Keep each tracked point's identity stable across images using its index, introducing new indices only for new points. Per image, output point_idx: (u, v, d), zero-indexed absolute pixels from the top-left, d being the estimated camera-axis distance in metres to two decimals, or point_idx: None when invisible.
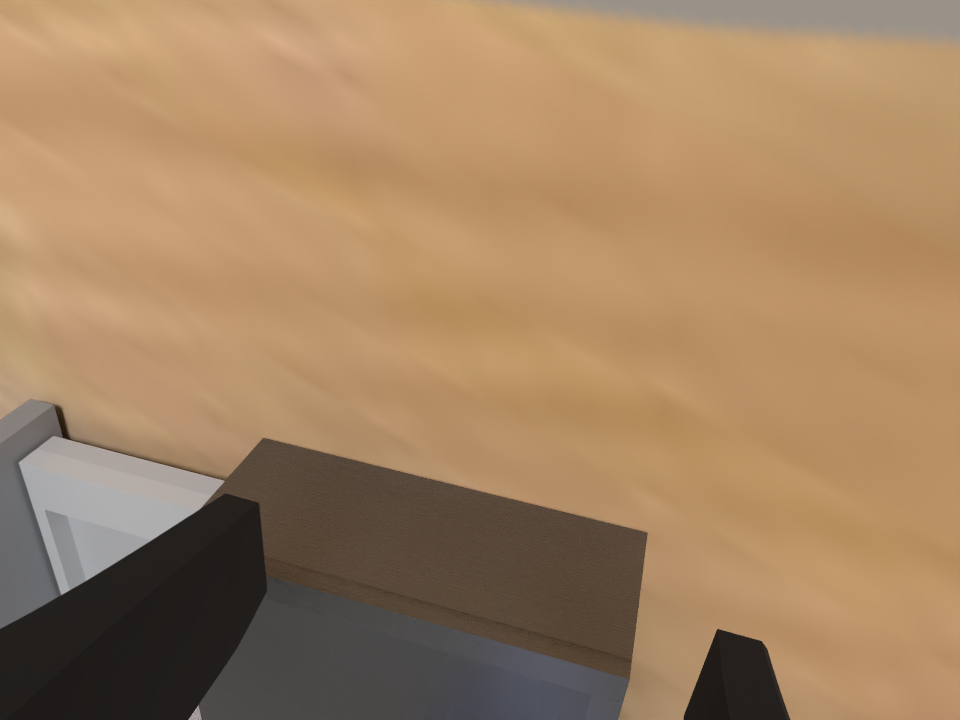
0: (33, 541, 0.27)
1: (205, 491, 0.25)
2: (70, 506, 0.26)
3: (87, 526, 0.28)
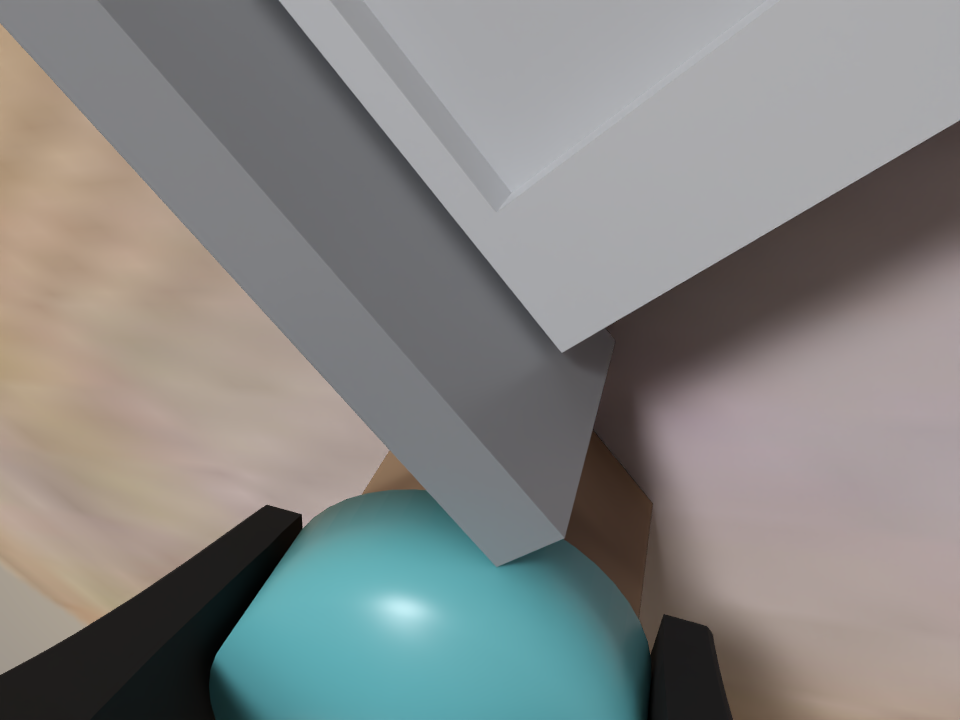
0: None
1: None
2: None
3: None
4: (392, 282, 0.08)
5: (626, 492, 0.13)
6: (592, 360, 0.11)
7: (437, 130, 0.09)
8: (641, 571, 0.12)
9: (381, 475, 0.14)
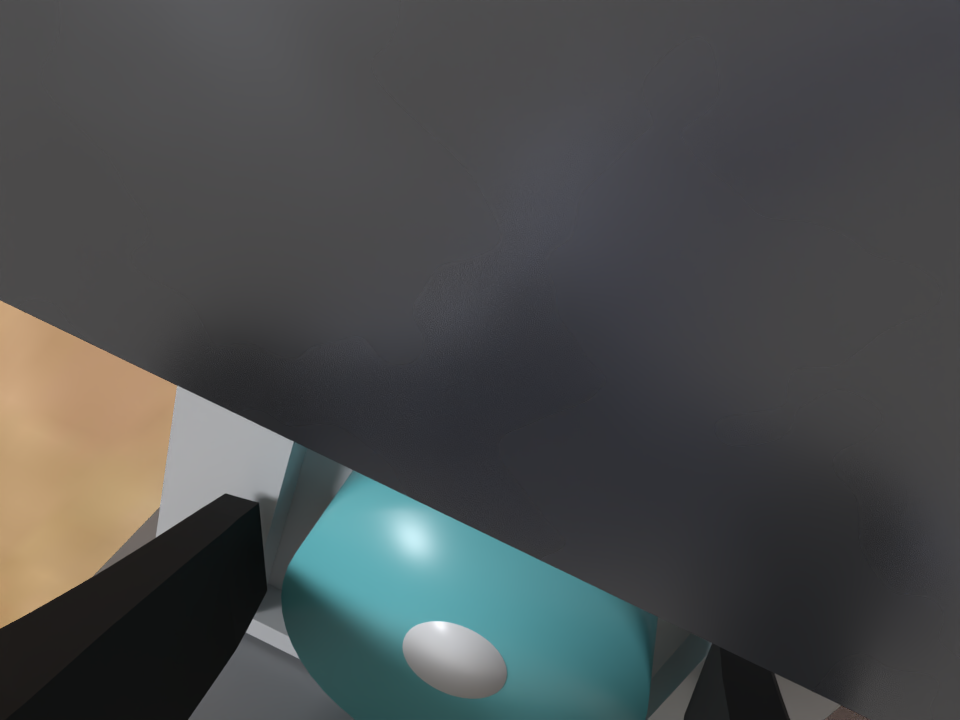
0: (305, 682, 0.14)
1: None
2: None
3: None
4: None
5: None
6: None
7: None
8: None
9: None
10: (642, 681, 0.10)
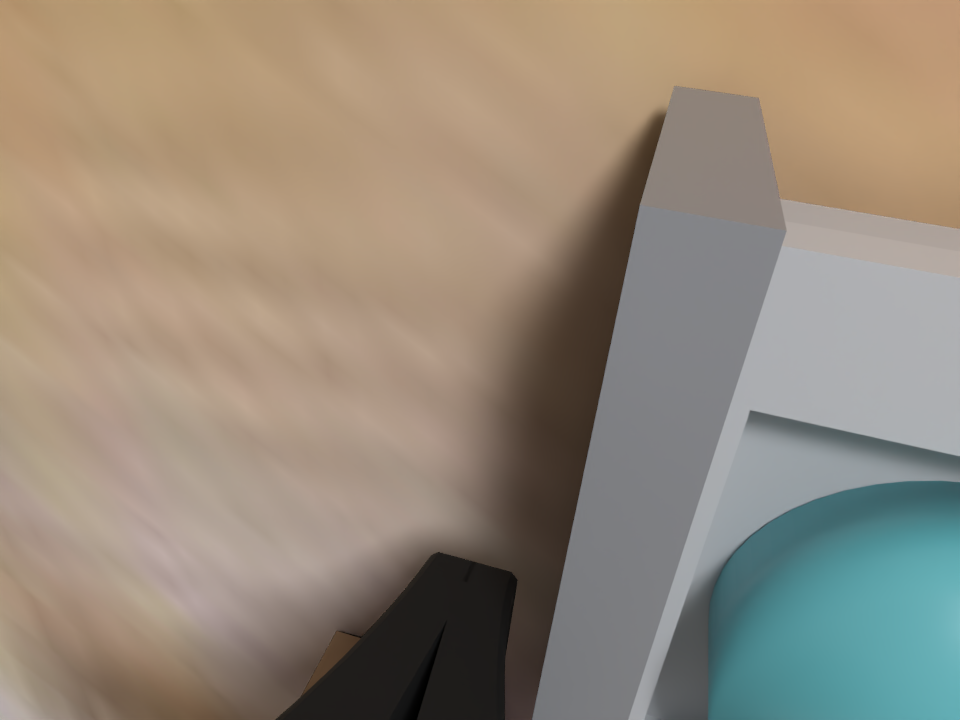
0: None
1: None
2: (879, 395, 0.08)
3: (785, 470, 0.10)
4: None
5: None
6: None
7: None
8: None
9: None
10: None
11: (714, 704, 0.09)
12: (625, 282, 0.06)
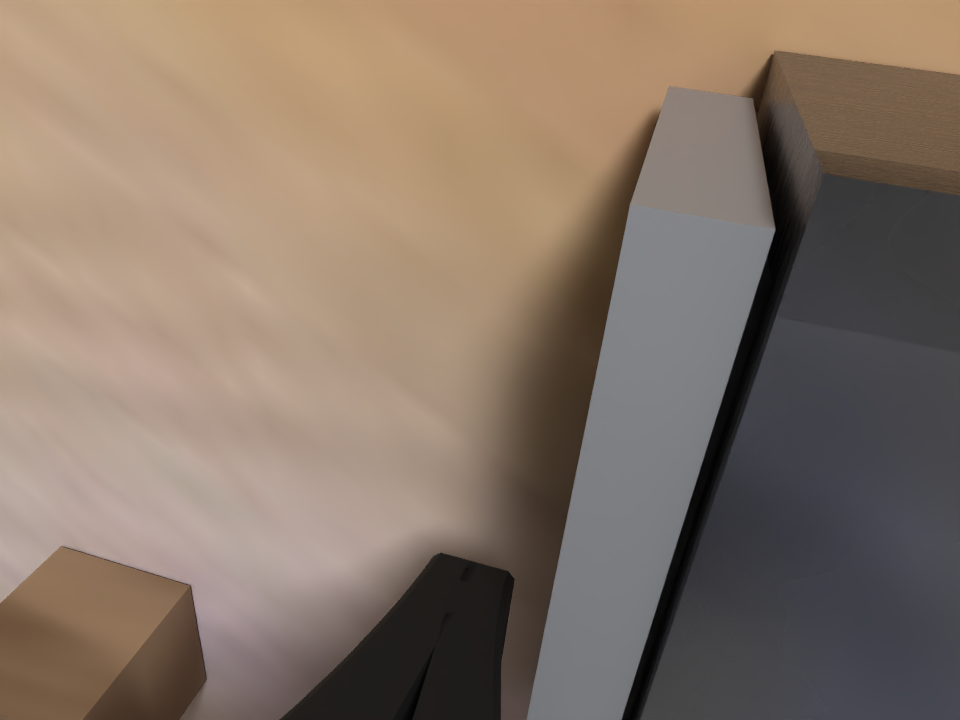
0: None
1: None
2: None
3: None
4: None
5: (192, 677, 0.19)
6: None
7: None
8: None
9: (32, 588, 0.17)
10: None
11: None
12: (616, 281, 0.06)
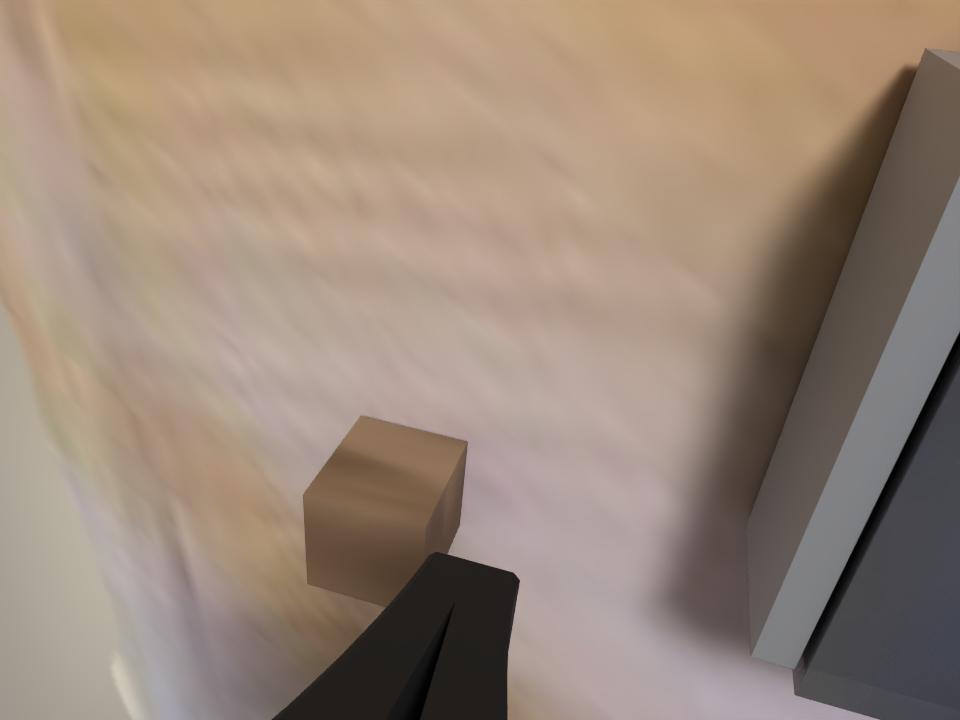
0: None
1: None
2: None
3: None
4: None
5: (456, 519, 0.24)
6: None
7: None
8: None
9: (354, 441, 0.23)
10: None
11: None
12: None
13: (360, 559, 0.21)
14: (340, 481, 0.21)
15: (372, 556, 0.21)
